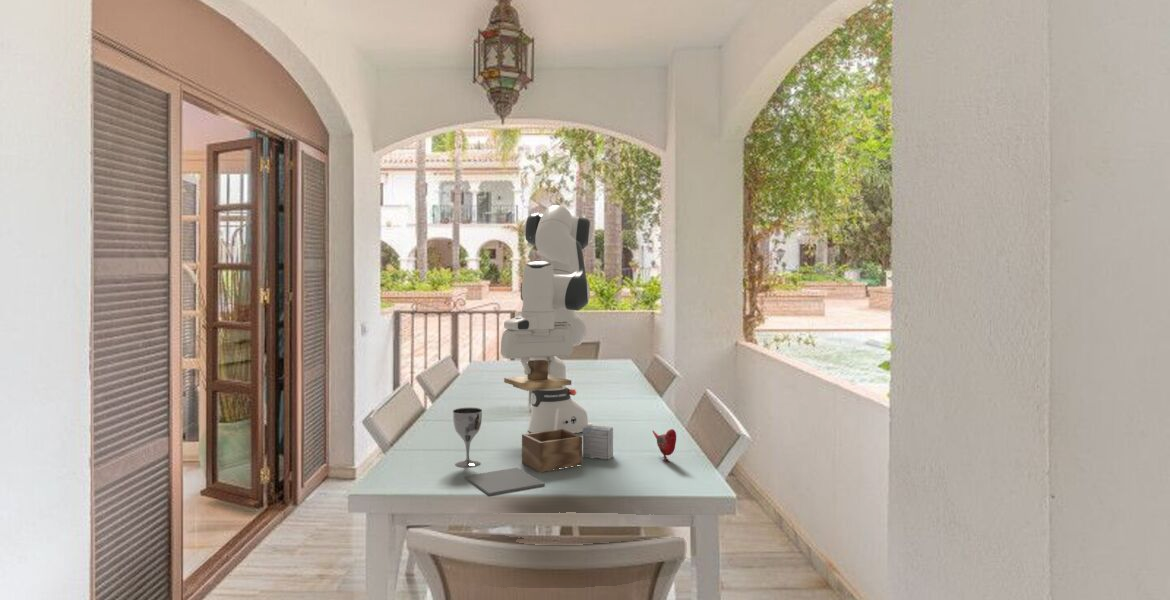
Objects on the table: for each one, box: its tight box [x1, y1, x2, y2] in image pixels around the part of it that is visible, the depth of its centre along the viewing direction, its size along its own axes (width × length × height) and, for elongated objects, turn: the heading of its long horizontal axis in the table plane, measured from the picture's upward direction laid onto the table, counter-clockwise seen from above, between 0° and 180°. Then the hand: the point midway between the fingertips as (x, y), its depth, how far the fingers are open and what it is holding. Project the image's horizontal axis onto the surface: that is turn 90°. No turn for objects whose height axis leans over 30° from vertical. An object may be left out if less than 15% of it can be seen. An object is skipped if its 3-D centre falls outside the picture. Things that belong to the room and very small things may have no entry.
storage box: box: [521, 429, 583, 473], centre depth 199 cm, size 13×11×8 cm
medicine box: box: [582, 424, 614, 460], centre depth 207 cm, size 8×4×9 cm, turn 71°
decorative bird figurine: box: [652, 428, 677, 463], centre depth 205 cm, size 3×18×10 cm, turn 15°
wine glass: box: [452, 407, 483, 469], centre depth 199 cm, size 8×8×15 cm
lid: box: [503, 359, 572, 392], centre depth 192 cm, size 14×12×7 cm
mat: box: [464, 467, 546, 496], centre depth 183 cm, size 15×16×1 cm
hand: (537, 373), depth 192 cm, fingers closed on lid, 4 cm apart
